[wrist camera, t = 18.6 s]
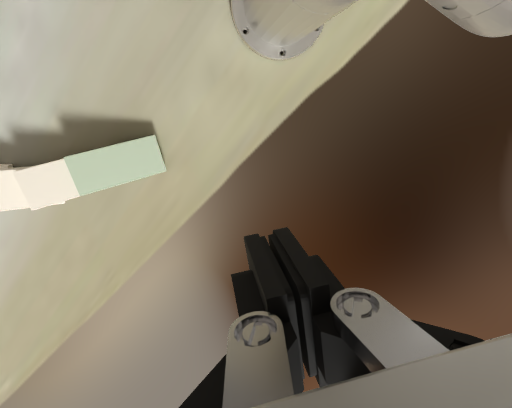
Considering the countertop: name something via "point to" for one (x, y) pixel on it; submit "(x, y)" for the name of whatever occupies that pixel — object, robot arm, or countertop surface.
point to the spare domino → (115, 164)
